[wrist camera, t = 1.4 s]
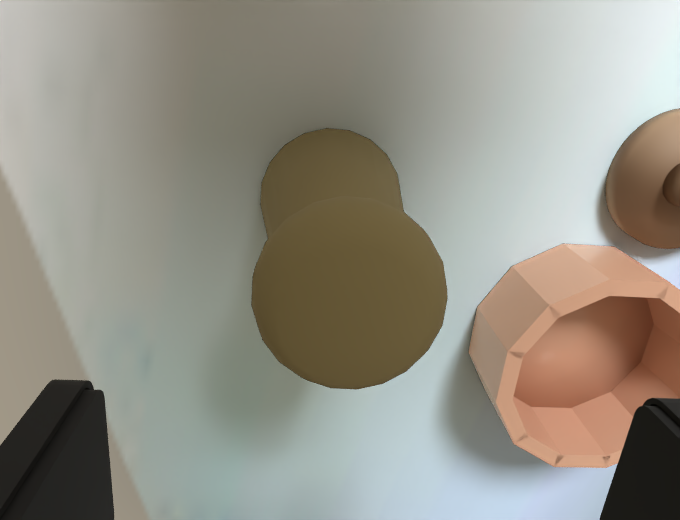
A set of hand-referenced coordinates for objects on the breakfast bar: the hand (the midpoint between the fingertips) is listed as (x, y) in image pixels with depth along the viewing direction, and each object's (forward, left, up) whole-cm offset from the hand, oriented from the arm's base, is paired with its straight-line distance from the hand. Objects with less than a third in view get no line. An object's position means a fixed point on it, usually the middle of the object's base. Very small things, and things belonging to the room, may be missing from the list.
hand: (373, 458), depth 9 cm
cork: (-1, 0, -15) cm, 15 cm away
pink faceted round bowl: (+5, +12, -15) cm, 20 cm away
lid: (-3, +15, -15) cm, 21 cm away
